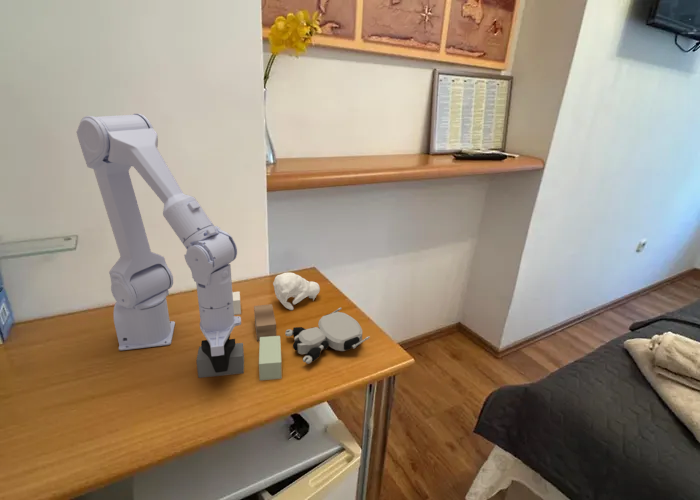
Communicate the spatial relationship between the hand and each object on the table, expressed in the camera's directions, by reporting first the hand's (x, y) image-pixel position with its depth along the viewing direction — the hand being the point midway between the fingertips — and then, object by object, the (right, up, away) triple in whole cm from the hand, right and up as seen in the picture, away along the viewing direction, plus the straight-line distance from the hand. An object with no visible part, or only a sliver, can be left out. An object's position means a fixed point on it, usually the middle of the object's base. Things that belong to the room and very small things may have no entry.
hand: (221, 362), depth 73 cm
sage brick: (+9, -1, +2) cm, 9 cm away
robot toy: (+19, +1, +9) cm, 21 cm away
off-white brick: (-6, +7, +18) cm, 20 cm away
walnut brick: (+5, +3, +13) cm, 14 cm away
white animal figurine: (+11, +8, +24) cm, 28 cm away
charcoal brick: (0, -1, +1) cm, 2 cm away
